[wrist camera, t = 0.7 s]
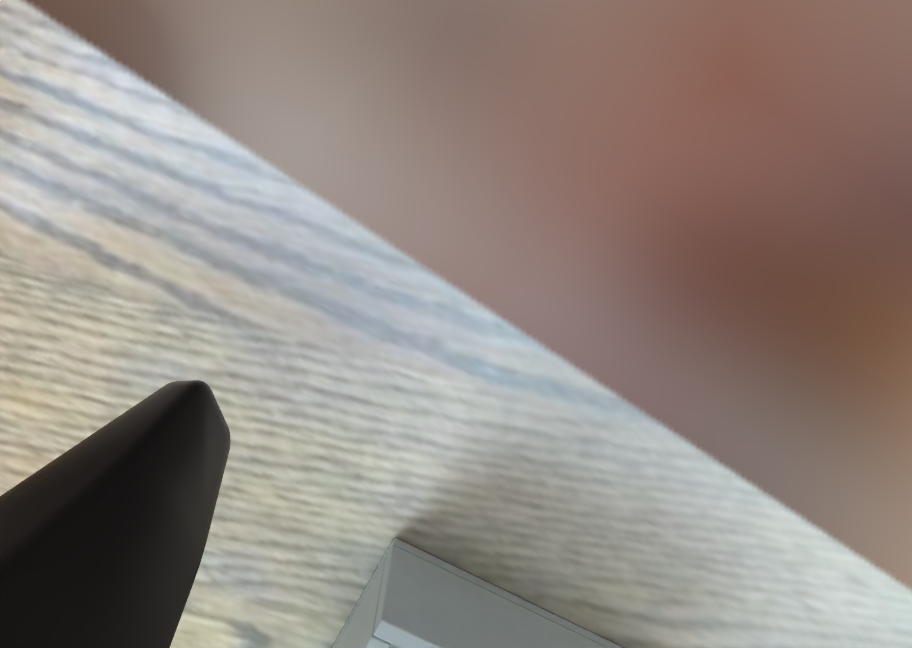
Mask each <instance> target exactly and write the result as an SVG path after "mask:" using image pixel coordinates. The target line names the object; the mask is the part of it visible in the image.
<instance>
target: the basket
mask: <svg viewBox="0 0 912 648" xmlns="http://www.w3.org/2000/svg"><path fill="white" fill-rule="evenodd" d="M332 648H623V647H621V646H619V645H616V644H614V643H612V642H610V641H608V640H606V639H604V638H602V637H600V636H598V635H596V634H594V633H592V632H589V631H587V630H585V629H583V628H581V627H579V626H577V625H575V624H573V623H571V622H569V621H567V620H565V619H563V618H560V617H558V616H556V615H554V614H552V613H550V612H548V611H546V610H544V609H542V608H540V607H538V606H536V605H533V604H531V603H529V602H527V601H525V600H523V599H521V598H519V597H517V596H515V595H513V594H511V593H509V592H507V591H504V590H502V589H500V588H498V587H496V586H494V585H492V584H490V583H488V582H486V581H484V580H482V579H480V578H477V577H475V576H473V575H471V574H469V573H467V572H465V571H463V570H461V569H459V568H457V567H455V566H453V565H451V564H448V563H446V562H444V561H442V560H440V559H438V558H436V557H434V556H432V555H430V554H428V553H426V552H424V551H421V550H419V549H417V548H415V547H413V546H411V545H409V544H407V543H405V542H403V541H401V540H399V539H397V538H394V539H393V540H392V542H391V544H390V546H389V547H388V549H387V551H386V553H385V555H384V556H383V558H382V560H381V562H380V563H379V565H378V567H377V569H376V570H375V572H374V574H373V576H372V578H371V579H370V581H369V583H368V585H367V586H366V588H365V590H364V592H363V593H362V595H361V597H360V599H359V601H358V602H357V604H356V606H355V608H354V609H353V611H352V613H351V615H350V616H349V618H348V620H347V622H346V623H345V625H344V627H343V629H342V631H341V632H340V634H339V636H338V638H337V639H336V641H335V643H334V645H333V646H332Z"/></svg>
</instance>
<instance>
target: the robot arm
mask: <svg viewBox="0 0 912 648" xmlns="http://www.w3.org/2000/svg"><path fill="white" fill-rule="evenodd" d="M229 450H230V432H229V428H228V426H227V423H226V421H225V419H224V417H223V415H222V412H221V410H220V408H219V406H218V404H217V401H216V399H215V397H214V395H213V392H212V390H211V389H210V387H209V386H208V385H207V384H206V383H205V382H202V381H198V380H197V381H176V382H171V383H168V384H167V385H165V386H164V387H162V388H161V389H159V390H158V391H156V392H155V393H153V394H152V395H150V396H149V397H147V398H146V399H144V400H143V401H141V402H140V403H138V404H137V405H135V406H134V407H132V408H131V409H129V410H128V411H126V412H125V413H123V414H122V415H120V416H119V417H117V418H116V419H114V420H113V421H112V422H110V423H109V424H107V425H106V426H104V427H103V428H101V429H100V430H98V431H97V432H95V433H94V434H92V435H91V436H89V437H88V438H86V439H85V440H83V441H82V442H80V443H79V444H77V445H76V446H74V447H73V448H71V449H70V450H68V451H67V452H65V453H64V454H62V455H61V456H59V457H58V458H56V459H55V460H54V461H52V462H51V463H49V464H48V465H46V466H45V467H43V468H42V469H40V470H39V471H37V472H36V473H34V474H33V475H31V476H30V477H28V478H27V479H25V480H24V481H22V482H21V483H19V484H18V485H16V486H15V487H13V488H12V489H10V490H9V491H7V492H6V493H4V494H3V495H1V496H0V648H169V647H170V645H171V642H172V639H173V637H174V634H175V631H176V628H177V626H178V623H179V620H180V618H181V615H182V612H183V609H184V607H185V604H186V601H187V599H188V596H189V593H190V590H191V588H192V585H193V582H194V580H195V577H196V574H197V571H198V568H199V565H200V562H201V559H202V555H203V552H204V548H205V545H206V541H207V537H208V533H209V529H210V525H211V521H212V517H213V513H214V509H215V505H216V501H217V498H218V494H219V490H220V486H221V482H222V478H223V474H224V470H225V466H226V462H227V458H228V454H229Z"/></svg>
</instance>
